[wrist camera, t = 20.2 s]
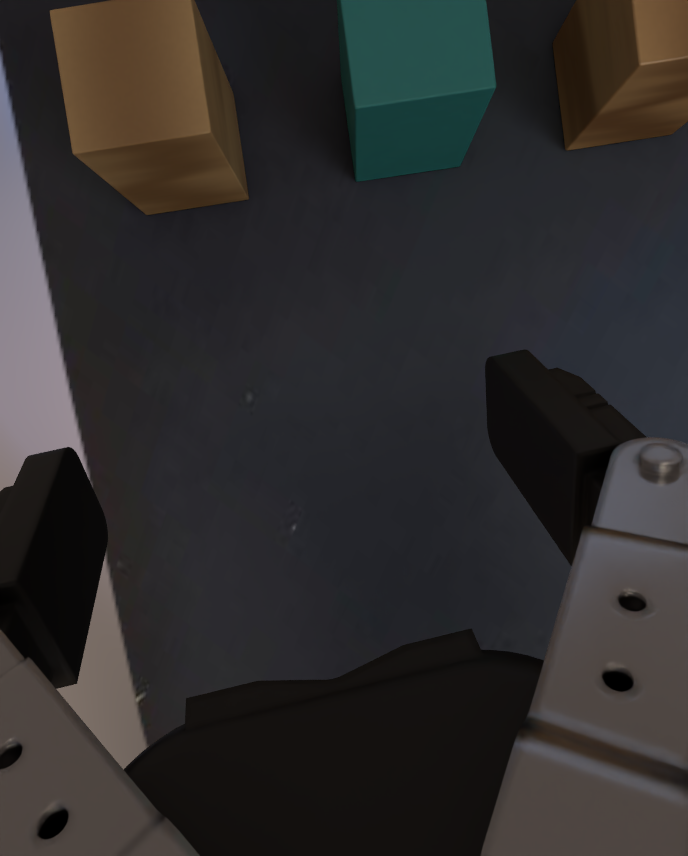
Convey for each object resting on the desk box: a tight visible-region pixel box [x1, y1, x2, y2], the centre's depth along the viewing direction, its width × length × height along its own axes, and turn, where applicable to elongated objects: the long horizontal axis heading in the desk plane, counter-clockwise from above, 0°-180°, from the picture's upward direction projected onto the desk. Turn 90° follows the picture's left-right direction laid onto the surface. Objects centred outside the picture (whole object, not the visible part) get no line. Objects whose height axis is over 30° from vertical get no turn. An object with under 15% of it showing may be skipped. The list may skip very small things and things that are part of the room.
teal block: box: [337, 0, 496, 182], centre depth 26 cm, size 5×5×8 cm
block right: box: [553, 0, 688, 150], centre depth 26 cm, size 5×5×8 cm
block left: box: [50, 0, 249, 215], centre depth 27 cm, size 5×5×8 cm
